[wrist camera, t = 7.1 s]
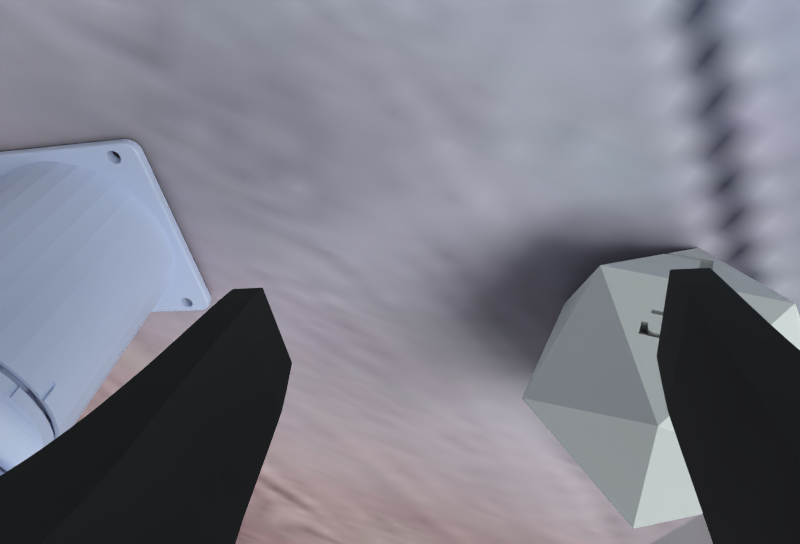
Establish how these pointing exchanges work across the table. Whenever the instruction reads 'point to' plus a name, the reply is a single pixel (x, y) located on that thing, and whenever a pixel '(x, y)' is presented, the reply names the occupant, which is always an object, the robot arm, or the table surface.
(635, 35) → the table surface
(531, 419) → the table surface
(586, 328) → the die
